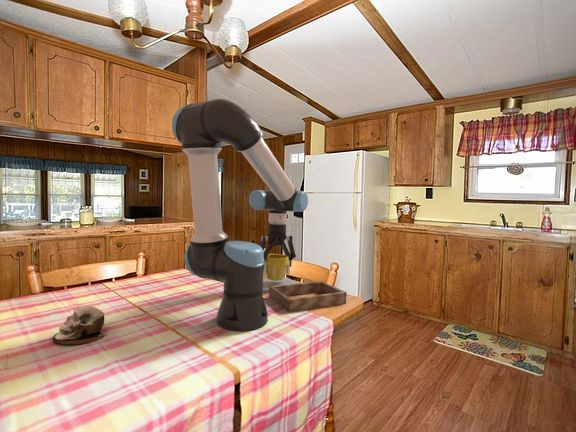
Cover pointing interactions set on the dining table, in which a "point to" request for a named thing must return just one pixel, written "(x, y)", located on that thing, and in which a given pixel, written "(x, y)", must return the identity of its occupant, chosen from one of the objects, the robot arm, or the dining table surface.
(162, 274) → the dining table surface
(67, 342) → the skull
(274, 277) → the plant pot
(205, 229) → the robot arm
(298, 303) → the walnut crate
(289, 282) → the slate tray
